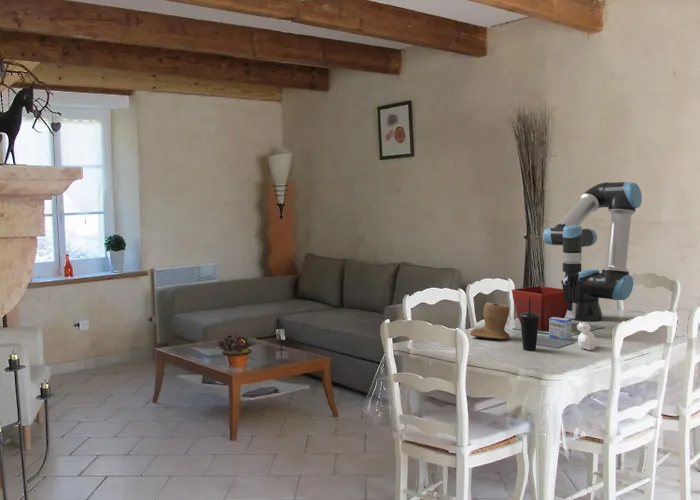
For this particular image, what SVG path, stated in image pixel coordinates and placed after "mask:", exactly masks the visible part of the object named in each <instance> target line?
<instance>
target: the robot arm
mask: <svg viewBox="0 0 700 500" xmlns="http://www.w3.org/2000/svg"><path fill="white" fill-rule="evenodd" d="M642 197H643V195H642V190H641V189H640V186H639V185H638V184H637V183H636V182H630V181H617V182H615V181H614V182H607V181H605V182H602V183H598V184H595V185H593V186H592V187H591V188H589V189H587V190H586V191H585V192H584V193H582V195H580V197H579V199H578V202H577V203H576V204H575V205H574V206H573V207H572V208H571V209H570V211H568V212H567V214H566V215H564V217H563V218H561V220H559V222H558V223H557V224H555V226H553V227H547V228H545V229H544V231H543V233H542V239H543V242H544V243H545V244H546V245H549V246H551V245H552V246H562V262H563V263H562V272H564V273H565V275H564V279H562V280H561V285H562V289H563V293H564V301H565V302H566V303H568V309H567V319H571V320H574V321H579V322H581V321H582V322H597V321H602V320H603V311H602V309H601V305H600V303H599V302H600V299H605V300H606V299H607V300H613V301H625V300H627V299H628V298H629V297H630V296H631V294H632V292H633V288H634V278H633V276H632V275H630V270H629V269H628V268H627V262H628V261H627V260H628V251H629V244H630V243H629V242H630V240H629V239H630V234H631V233H630V231H631V223H632V221H631V220H632V216H633V215H635V213H636V209H637V208H640V207H641V205H642V201H643V198H642ZM601 208H607V209H608V210H607V211H608V212H609V213H610V214H611V217H610V225H609V234H608V235H609V236H608V242H607V243H608V244H607V253H606V263H605V264H606V265H605V266H603V268H602V269H601V272H600V269H595V268H594V269H583V270H582V263H581V262H582V261H583V259H582V254H583V253H582V249H583V248H585V247H591V246H594V245H595V244H596V242H597V240H598V235H597V233H596V231H595V230H594V229H592V228H582V226H581V225H582V223H583V222H584V221H585V220H586V219H587V218H588V217H589V216H590V214H592V213H593V212H596V211H597V210H599V209H601Z"/></svg>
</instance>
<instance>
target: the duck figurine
mask: <svg viewBox="0 0 700 500" xmlns="http://www.w3.org/2000/svg"><path fill="white" fill-rule="evenodd" d="M576 329H577V331H580V334H579V335H578V337H577V344H578V346H579V347H580V348H581V349H584V350H587V351H594V350H595V349H596V347H597V346H598V345H597V341H596V337H595V335H594V333H592V332H591V325H590V324H588V322H586V321H582V322H581V321H579V323H578V324H577V325H576Z"/></svg>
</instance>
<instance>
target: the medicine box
mask: <svg viewBox="0 0 700 500" xmlns="http://www.w3.org/2000/svg"><path fill="white" fill-rule="evenodd" d="M548 338H554V339H560V340H566V341H571V340H572V319H570V318H566V317H565V318H558V317H552V318H550V319H549V329H548ZM570 339H571V340H570Z"/></svg>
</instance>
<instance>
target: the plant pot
mask: <svg viewBox="0 0 700 500" xmlns="http://www.w3.org/2000/svg"><path fill="white" fill-rule="evenodd" d="M511 295H512V300H513V305H514V308H515V311H516V314H517V317H518V321H519V323H520V324H521V320H520V316H519V315H520V314H522V313H524V312H529V299H531V308H530V312H534V313H536V314H539V315H540V317H539V322H538V330H539V331H545V330H546V329H547V330H549V319H550V318H552V317H558V318H565V319H566V314H568V303H566V302H565V301H564V293H563V288H558V287H557V288H556V287H551V286H550V287H549V286H542V285H541V286H540V285H539V286H537V285H536V286H531V287H530V286H528V287H522V288H521V287H519V288H515V289H511ZM547 330H546V331H547Z"/></svg>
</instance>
